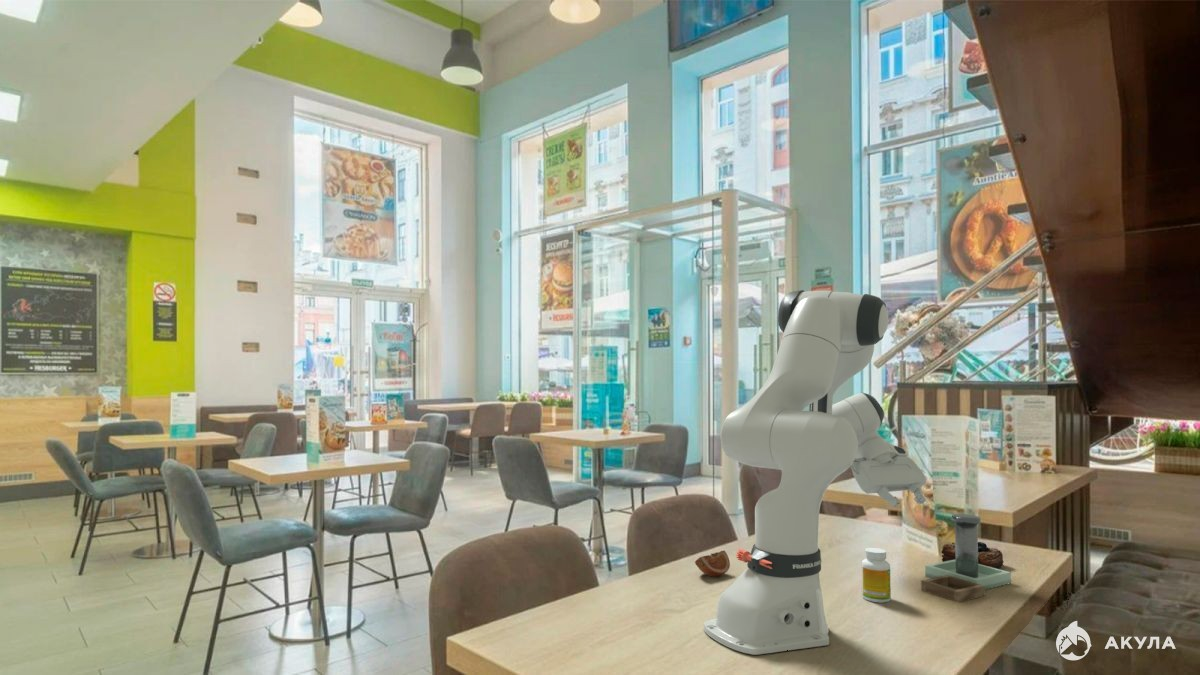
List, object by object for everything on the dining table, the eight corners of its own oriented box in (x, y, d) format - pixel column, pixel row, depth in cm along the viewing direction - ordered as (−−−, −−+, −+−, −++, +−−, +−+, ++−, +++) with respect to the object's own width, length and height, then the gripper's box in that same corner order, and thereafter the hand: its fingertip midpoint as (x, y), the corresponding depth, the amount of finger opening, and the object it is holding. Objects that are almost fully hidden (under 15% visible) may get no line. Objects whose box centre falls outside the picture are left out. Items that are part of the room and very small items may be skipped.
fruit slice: (709, 582, 148) (709, 559, 148) (687, 575, 153) (687, 552, 154) (735, 575, 153) (735, 553, 153) (713, 568, 159) (713, 546, 159)
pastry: (962, 555, 171) (962, 532, 171) (1011, 568, 161) (1011, 542, 161) (935, 561, 165) (935, 537, 166) (984, 575, 155) (984, 548, 155)
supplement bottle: (893, 604, 135) (892, 554, 135) (864, 602, 136) (864, 552, 136) (887, 595, 140) (886, 547, 141) (860, 593, 141) (859, 546, 142)
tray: (976, 592, 142) (976, 580, 142) (925, 576, 153) (925, 565, 153) (1010, 583, 148) (1010, 572, 148) (959, 569, 159) (958, 558, 159)
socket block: (958, 602, 136) (958, 592, 136) (921, 590, 144) (921, 580, 144) (984, 595, 140) (984, 585, 140) (946, 584, 147) (946, 574, 148)
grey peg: (971, 581, 147) (970, 520, 147) (947, 574, 152) (946, 515, 152) (987, 577, 149) (985, 518, 150) (963, 571, 154) (962, 513, 155)
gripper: (853, 450, 164) (887, 498, 155) (909, 448, 174) (945, 493, 165) (838, 467, 168) (871, 514, 159) (894, 463, 177) (928, 508, 168)
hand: (909, 503), depth 162 cm, fingers open, 8 cm apart
